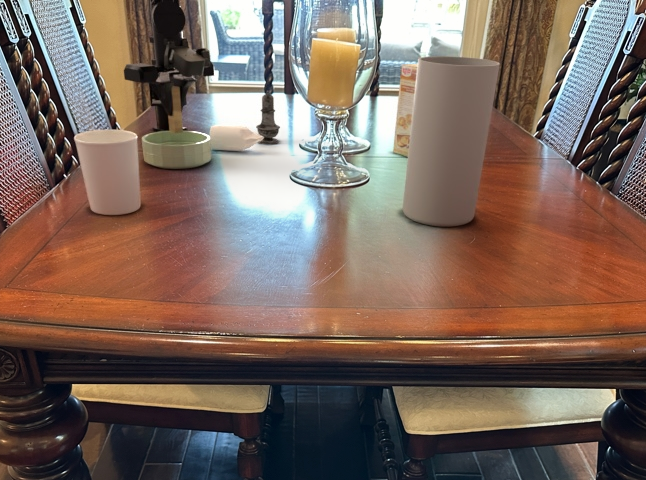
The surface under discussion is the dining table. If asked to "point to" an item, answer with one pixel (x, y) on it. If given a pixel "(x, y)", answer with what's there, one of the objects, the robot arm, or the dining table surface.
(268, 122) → the salt shaker
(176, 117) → the stick
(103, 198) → the white cup
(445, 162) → the cylinder vase
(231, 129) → the white milk carton
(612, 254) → the dining table surface
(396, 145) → the coffeecake box
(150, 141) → the bowl
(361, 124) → the dining table surface
